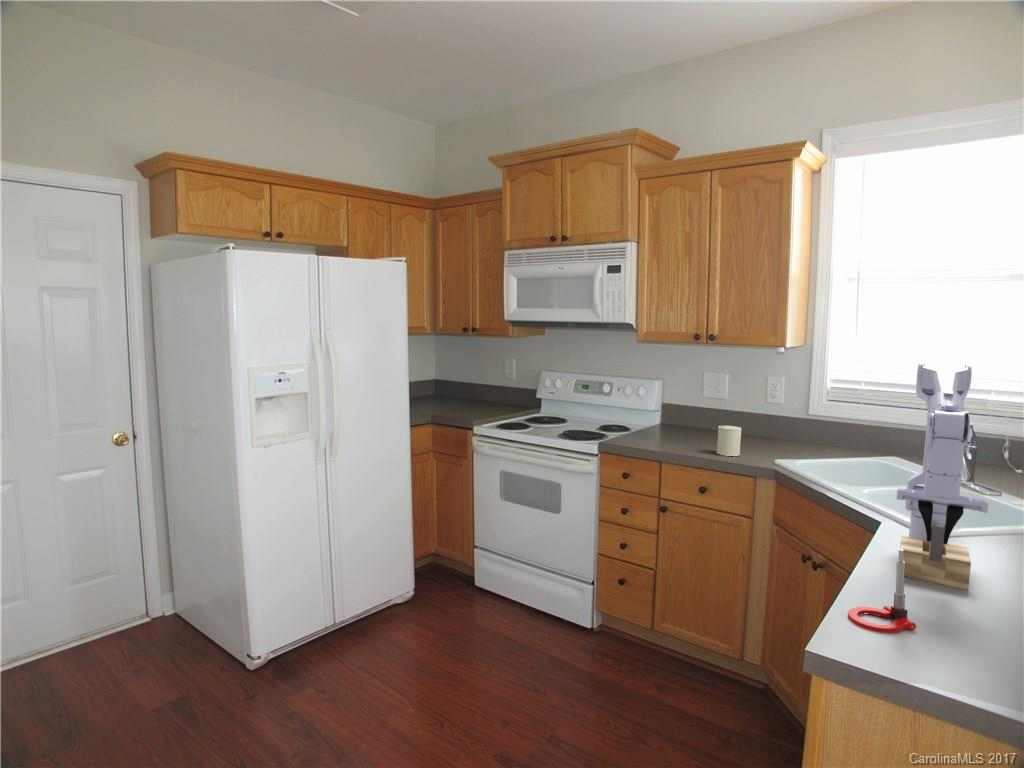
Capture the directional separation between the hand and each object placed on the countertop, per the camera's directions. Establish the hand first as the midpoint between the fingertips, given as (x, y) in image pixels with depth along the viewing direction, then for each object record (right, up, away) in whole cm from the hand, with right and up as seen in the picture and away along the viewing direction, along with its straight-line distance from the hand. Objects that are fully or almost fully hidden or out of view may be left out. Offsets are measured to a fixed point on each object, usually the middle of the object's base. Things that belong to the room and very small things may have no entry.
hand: (936, 541), depth 123 cm
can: (+6, +1, +135) cm, 135 cm away
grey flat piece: (0, -3, 0) cm, 3 cm away
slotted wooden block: (+5, -9, +9) cm, 14 cm away
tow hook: (-20, -11, -14) cm, 27 cm away
